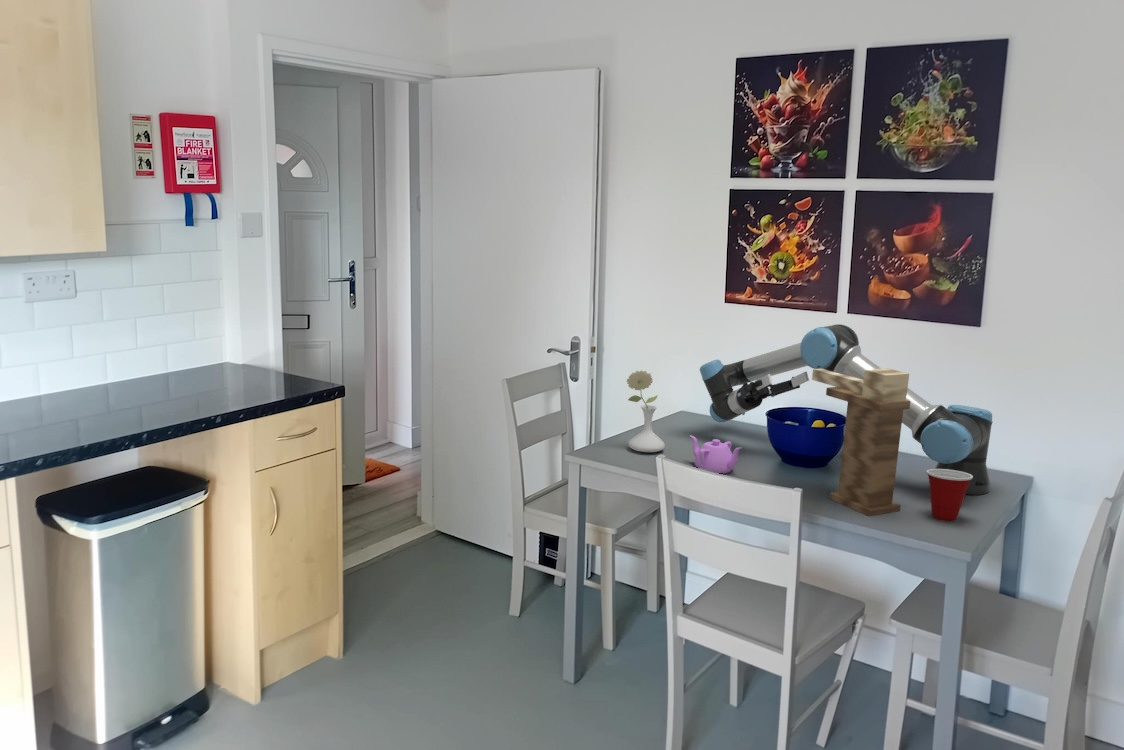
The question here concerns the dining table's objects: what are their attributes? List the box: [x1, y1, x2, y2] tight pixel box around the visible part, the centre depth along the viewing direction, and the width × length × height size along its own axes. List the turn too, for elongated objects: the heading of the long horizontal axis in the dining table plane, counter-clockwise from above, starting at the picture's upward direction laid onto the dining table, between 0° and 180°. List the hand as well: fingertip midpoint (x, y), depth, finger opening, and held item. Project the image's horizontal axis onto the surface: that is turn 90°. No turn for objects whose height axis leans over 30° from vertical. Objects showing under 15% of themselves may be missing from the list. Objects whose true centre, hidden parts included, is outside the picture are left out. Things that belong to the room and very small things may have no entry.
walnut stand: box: [825, 386, 910, 517], centre depth 230 cm, size 20×11×29 cm, turn 27°
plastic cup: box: [926, 468, 973, 522], centre depth 222 cm, size 11×11×12 cm
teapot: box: [689, 434, 742, 475], centre depth 255 cm, size 12×14×9 cm
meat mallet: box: [811, 368, 910, 403], centre depth 231 cm, size 28×8×7 cm, turn 27°
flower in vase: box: [626, 370, 666, 453], centre depth 270 cm, size 13×11×25 cm
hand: (788, 377), depth 254 cm, fingers open, 13 cm apart
